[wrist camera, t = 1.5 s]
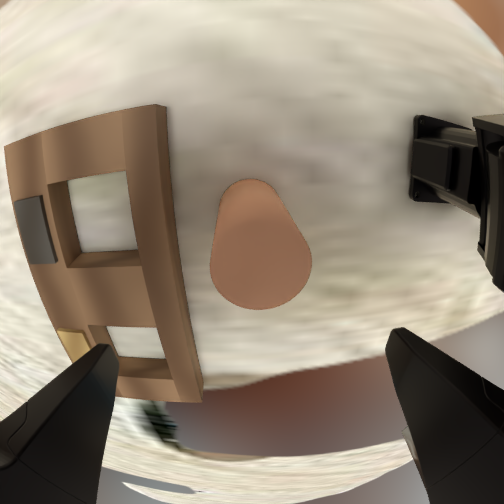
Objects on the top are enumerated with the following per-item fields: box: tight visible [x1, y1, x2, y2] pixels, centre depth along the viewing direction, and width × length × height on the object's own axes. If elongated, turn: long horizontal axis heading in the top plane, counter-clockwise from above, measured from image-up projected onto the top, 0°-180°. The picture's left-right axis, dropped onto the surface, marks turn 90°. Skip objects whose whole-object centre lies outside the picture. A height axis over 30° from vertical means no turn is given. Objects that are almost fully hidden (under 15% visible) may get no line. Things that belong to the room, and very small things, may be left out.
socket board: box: [4, 104, 203, 402], centre depth 18 cm, size 12×24×3 cm, turn 1°
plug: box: [210, 179, 312, 310], centre depth 15 cm, size 4×4×8 cm
